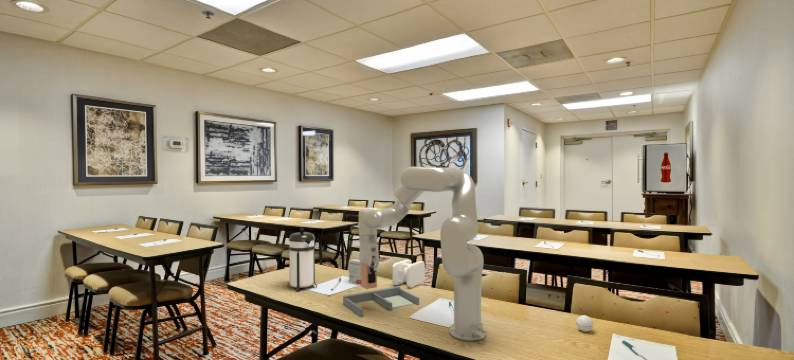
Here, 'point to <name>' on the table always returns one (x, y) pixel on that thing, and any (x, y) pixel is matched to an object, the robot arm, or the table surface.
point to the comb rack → (380, 299)
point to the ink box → (355, 271)
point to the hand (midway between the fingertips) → (368, 280)
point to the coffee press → (302, 260)
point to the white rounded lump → (584, 323)
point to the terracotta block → (366, 277)
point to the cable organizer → (408, 273)
